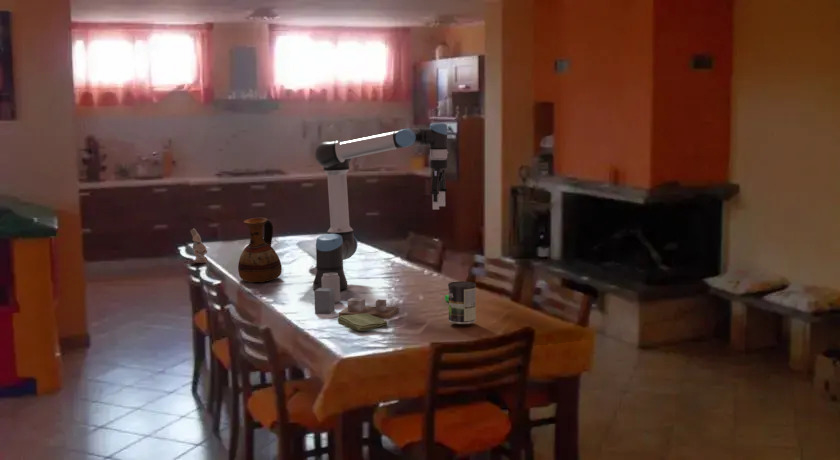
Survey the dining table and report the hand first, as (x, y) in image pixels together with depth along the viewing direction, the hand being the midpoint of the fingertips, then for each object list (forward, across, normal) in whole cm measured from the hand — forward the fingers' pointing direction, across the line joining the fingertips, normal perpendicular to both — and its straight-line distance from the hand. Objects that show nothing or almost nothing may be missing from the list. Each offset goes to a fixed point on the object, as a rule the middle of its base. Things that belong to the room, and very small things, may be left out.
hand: (439, 207), depth 410 cm
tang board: (+36, -57, +16) cm, 69 cm away
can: (+36, -38, +38) cm, 64 cm away
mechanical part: (+36, -28, -13) cm, 48 cm away
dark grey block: (+36, -57, +34) cm, 75 cm away
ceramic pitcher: (+36, +4, +86) cm, 94 cm away
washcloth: (+36, -75, +13) cm, 85 cm away
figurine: (+37, +39, +133) cm, 144 cm away
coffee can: (+36, -64, -22) cm, 76 cm away
